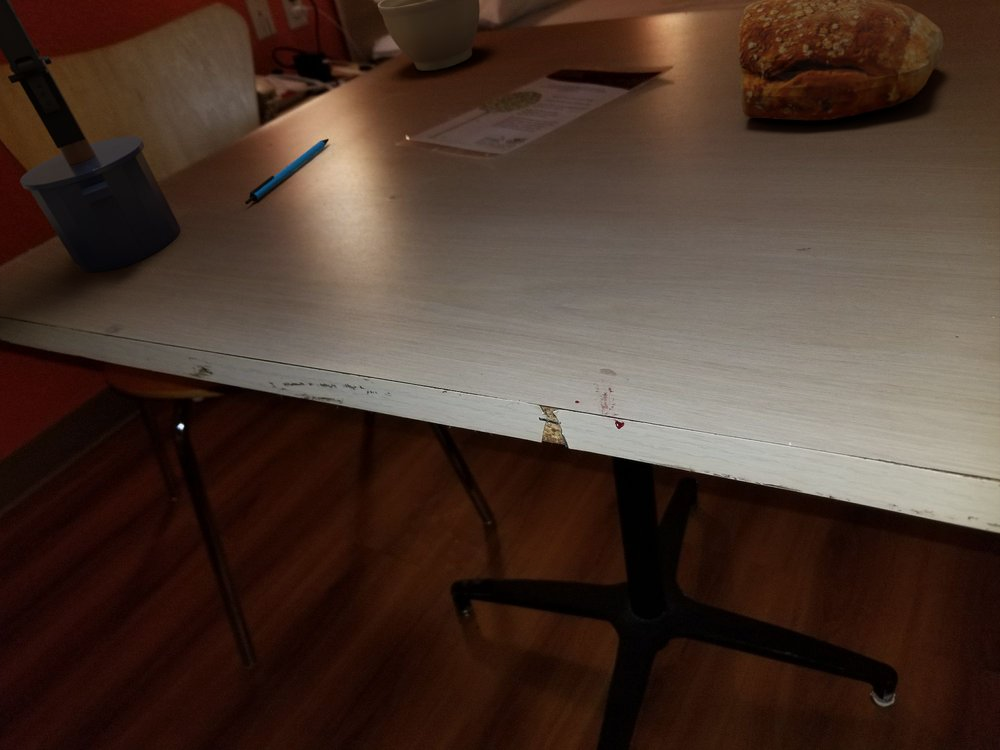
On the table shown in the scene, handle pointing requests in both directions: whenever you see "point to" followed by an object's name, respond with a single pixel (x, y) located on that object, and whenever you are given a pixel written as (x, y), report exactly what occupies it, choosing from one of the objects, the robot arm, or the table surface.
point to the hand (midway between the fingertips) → (69, 138)
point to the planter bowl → (432, 30)
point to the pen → (284, 172)
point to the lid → (81, 160)
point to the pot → (111, 216)
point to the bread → (832, 57)
